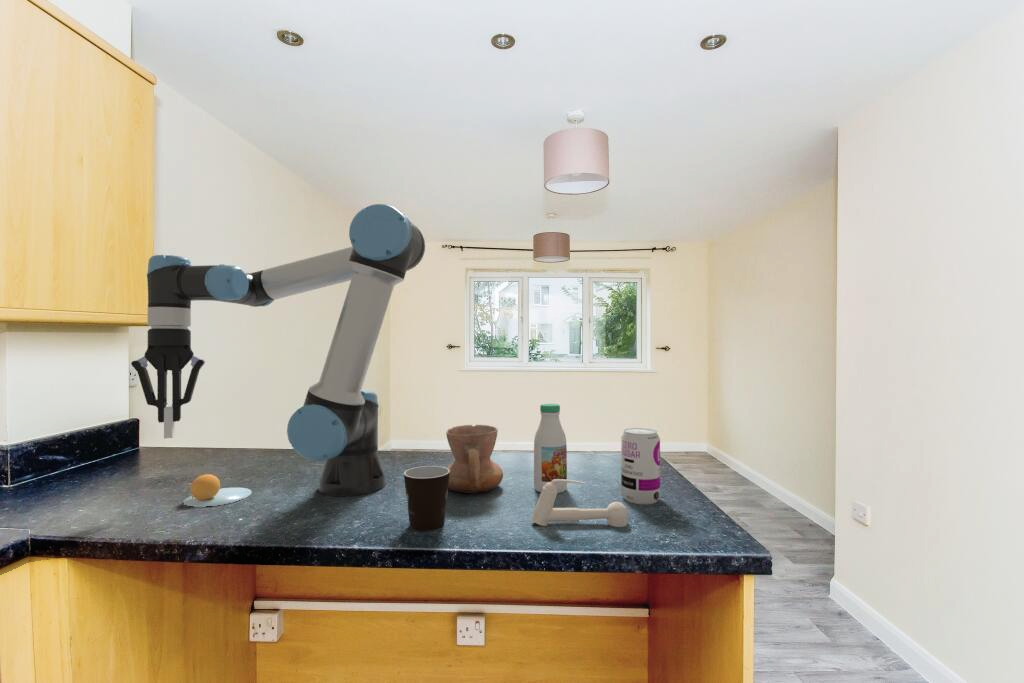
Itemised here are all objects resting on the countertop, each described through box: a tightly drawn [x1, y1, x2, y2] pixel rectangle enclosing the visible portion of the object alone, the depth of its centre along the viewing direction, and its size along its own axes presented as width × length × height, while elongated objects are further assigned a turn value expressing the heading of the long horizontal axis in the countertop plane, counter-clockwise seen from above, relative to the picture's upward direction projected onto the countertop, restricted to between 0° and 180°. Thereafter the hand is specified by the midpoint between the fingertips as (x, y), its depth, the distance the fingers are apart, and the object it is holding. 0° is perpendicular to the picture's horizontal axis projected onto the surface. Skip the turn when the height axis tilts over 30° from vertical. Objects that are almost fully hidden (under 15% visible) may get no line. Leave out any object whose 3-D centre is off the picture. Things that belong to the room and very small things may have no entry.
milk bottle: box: [533, 403, 568, 494], centre depth 109 cm, size 8×8×20 cm
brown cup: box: [403, 465, 450, 532], centre depth 89 cm, size 12×9×10 cm
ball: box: [190, 473, 221, 500], centre depth 102 cm, size 6×6×6 cm
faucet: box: [530, 479, 629, 528], centre depth 88 cm, size 4×18×10 cm, turn 91°
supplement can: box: [620, 427, 661, 506], centre depth 102 cm, size 8×8×15 cm
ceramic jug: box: [445, 424, 504, 494], centre depth 109 cm, size 18×14×14 cm
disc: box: [182, 487, 253, 508], centre depth 104 cm, size 13×13×1 cm
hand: (169, 436), depth 100 cm, fingers closed
